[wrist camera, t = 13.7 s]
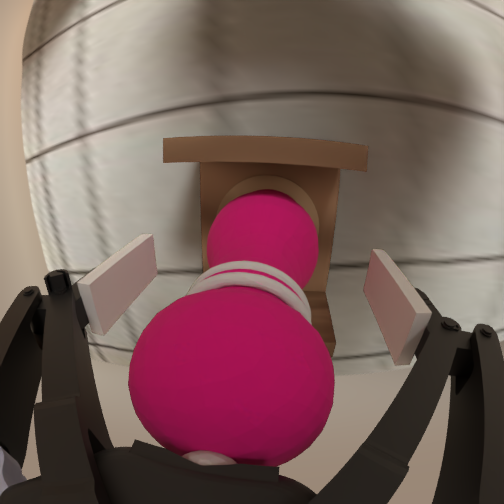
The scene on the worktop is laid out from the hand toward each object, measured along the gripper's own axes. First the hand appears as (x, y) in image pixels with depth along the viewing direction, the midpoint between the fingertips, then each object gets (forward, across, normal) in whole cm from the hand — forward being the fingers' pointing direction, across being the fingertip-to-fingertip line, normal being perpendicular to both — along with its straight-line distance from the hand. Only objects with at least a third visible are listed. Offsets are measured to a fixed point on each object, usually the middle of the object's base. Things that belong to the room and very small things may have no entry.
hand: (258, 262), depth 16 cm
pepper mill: (+7, 0, 0) cm, 7 cm away
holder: (+8, 0, 0) cm, 8 cm away
